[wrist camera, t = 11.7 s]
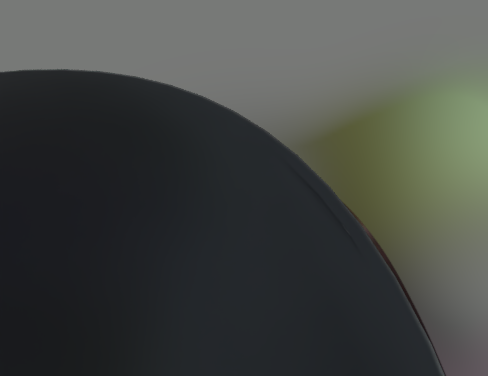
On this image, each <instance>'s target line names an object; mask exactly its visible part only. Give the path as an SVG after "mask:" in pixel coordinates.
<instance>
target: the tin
mask: <svg viewBox="0 0 488 376" xmlns="http://www.w3.org/2000/svg"><path fill="white" fill-rule="evenodd" d="M0 376H445V375H444V373H443V371H442V368H441V366H440V364H439V361H438V359H437V356H436V354H435V352H434V349H433V347H432V345H431V343H430V341H429V339H428V337H427V335H426V333H425V331H424V330H423V328H422V326H421V324H420V322H419V320H418V318H417V316H416V315H415V313H414V311H413V309H412V307H411V305H410V303H409V301H408V299H407V298H406V296H405V294H404V292H403V290H402V288H401V286H400V284H399V283H398V281H397V279H396V277H395V275H394V274H393V272H392V271H391V269H390V268H389V266H388V265H387V263H386V262H385V260H384V259H383V257H382V256H381V254H380V253H379V251H378V250H377V248H376V247H375V245H374V244H373V242H372V241H371V239H370V238H369V236H368V235H367V233H366V232H365V230H364V229H363V227H362V226H361V224H360V223H359V222H358V221H357V220H356V218H355V217H354V216H353V215H352V213H351V212H350V211H349V210H348V209H347V207H346V206H345V205H344V204H343V203H342V201H341V200H340V199H339V198H338V197H337V195H336V194H335V193H334V192H333V190H332V189H331V188H330V187H329V186H328V185H327V184H326V183H325V182H324V181H323V180H322V179H321V178H320V177H319V176H318V175H317V174H316V173H315V172H314V171H313V170H312V169H311V168H310V167H309V166H308V165H307V164H306V163H305V162H304V161H303V160H302V159H301V158H300V157H299V156H298V155H297V154H295V153H294V152H292V151H291V150H290V149H289V148H288V147H286V146H285V145H284V144H282V143H281V142H280V141H279V140H277V139H276V138H275V137H273V136H272V135H271V134H270V133H268V132H267V131H265V130H264V129H263V128H261V127H259V126H258V125H256V124H254V123H252V122H251V121H250V120H248V119H246V118H245V117H243V116H241V115H240V114H238V113H236V112H235V111H233V110H231V109H229V108H227V107H224V106H222V105H220V104H218V103H216V102H214V101H212V100H210V99H207V98H205V97H203V96H201V95H198V94H195V93H192V92H189V91H186V90H184V89H181V88H178V87H175V86H172V85H168V84H165V83H160V82H157V81H152V80H148V79H144V78H140V77H135V76H128V75H122V74H115V73H108V72H100V71H85V70H68V69H55V70H54V69H53V70H51V69H50V70H19V71H7V72H0Z"/></svg>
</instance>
